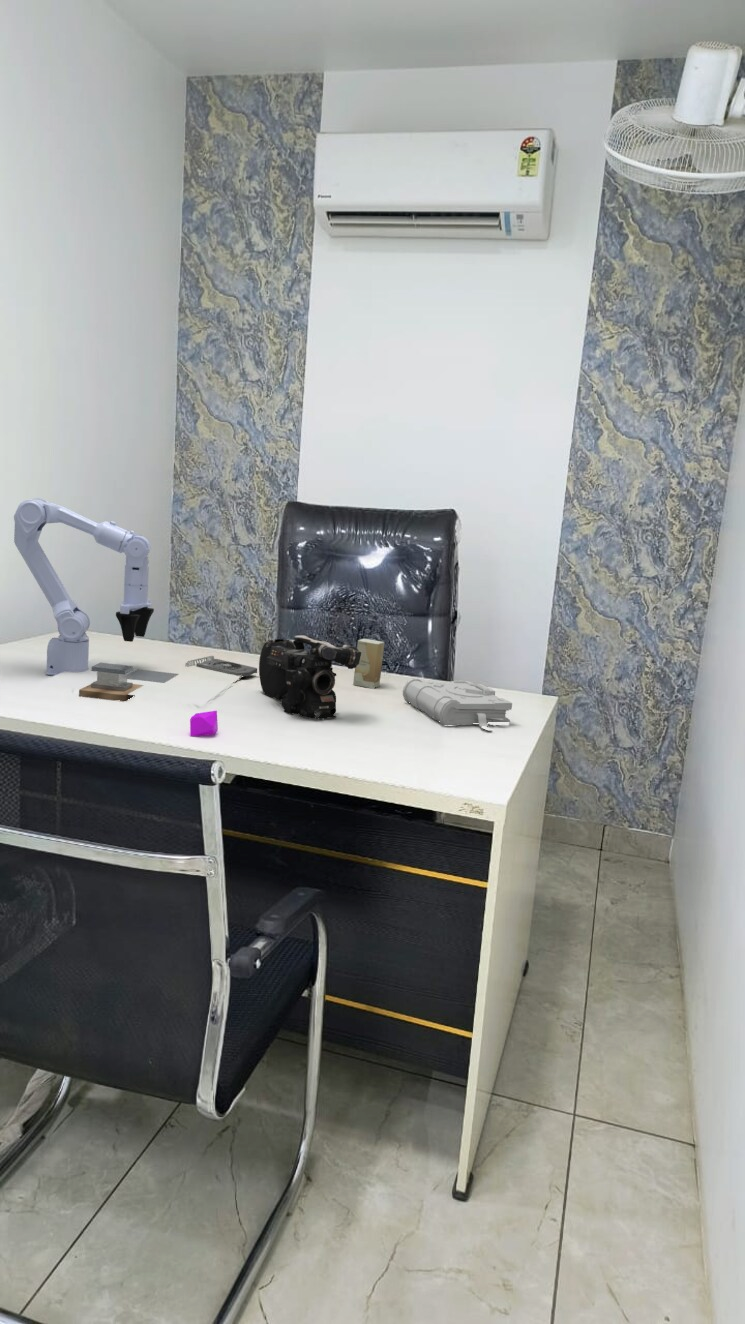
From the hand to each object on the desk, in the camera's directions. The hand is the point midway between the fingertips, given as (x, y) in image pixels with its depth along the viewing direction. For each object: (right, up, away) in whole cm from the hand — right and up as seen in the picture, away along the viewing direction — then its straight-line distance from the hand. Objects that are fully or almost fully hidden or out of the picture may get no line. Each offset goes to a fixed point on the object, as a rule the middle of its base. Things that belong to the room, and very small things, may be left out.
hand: (134, 638), depth 231 cm
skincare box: (+58, -12, +15) cm, 61 cm away
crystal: (+25, -21, -41) cm, 52 cm away
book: (+80, -19, -8) cm, 83 cm away
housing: (-1, -12, -16) cm, 20 cm away
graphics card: (+19, -10, +14) cm, 26 cm away
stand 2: (+4, -11, -1) cm, 12 cm away
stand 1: (-1, -13, -16) cm, 21 cm away
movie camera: (+43, -17, -13) cm, 47 cm away
